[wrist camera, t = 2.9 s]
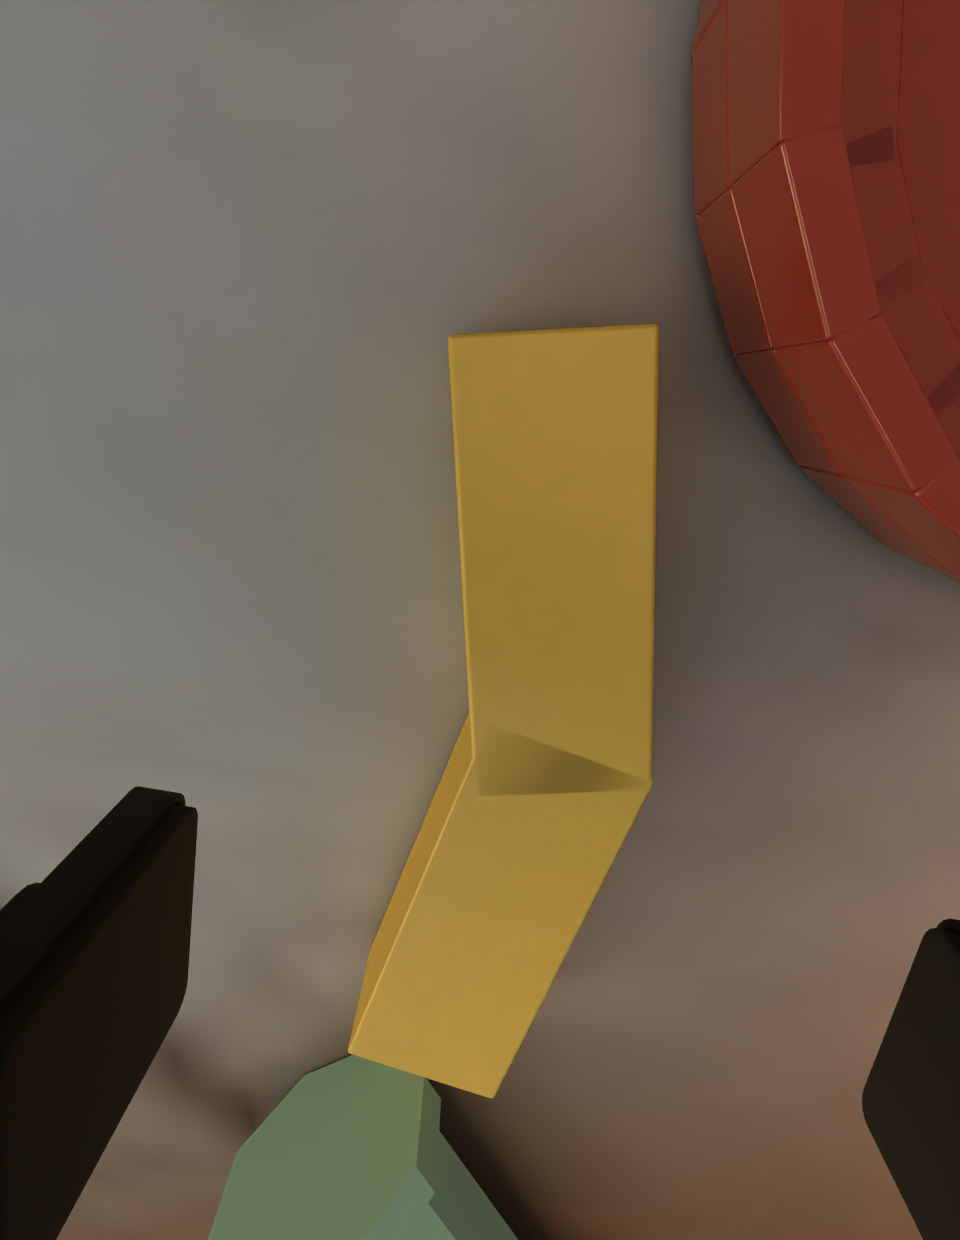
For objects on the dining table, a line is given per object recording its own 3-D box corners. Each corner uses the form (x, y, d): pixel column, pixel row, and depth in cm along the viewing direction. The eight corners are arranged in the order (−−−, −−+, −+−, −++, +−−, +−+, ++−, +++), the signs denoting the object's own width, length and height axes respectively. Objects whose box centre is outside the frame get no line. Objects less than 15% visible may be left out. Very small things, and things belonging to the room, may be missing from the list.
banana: (366, 972, 20) (343, 1079, 17) (462, 309, 15) (454, 288, 12) (559, 1000, 20) (571, 1111, 17) (711, 352, 15) (766, 342, 12)
